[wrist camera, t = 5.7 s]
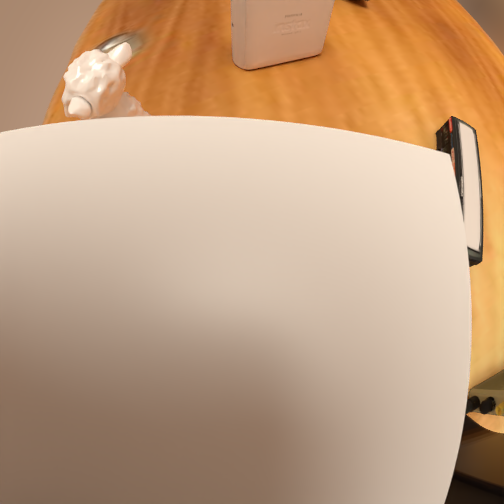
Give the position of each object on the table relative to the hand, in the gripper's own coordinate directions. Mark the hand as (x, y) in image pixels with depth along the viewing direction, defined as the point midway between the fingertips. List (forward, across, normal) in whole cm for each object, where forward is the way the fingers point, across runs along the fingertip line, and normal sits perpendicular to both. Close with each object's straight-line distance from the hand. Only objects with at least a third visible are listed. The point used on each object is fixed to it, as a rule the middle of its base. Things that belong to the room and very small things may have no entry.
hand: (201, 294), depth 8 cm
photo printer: (+29, -2, -10) cm, 31 cm away
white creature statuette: (+19, +10, 0) cm, 21 cm away
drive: (+4, 0, +6) cm, 7 cm away
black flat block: (+20, -21, 0) cm, 29 cm away
